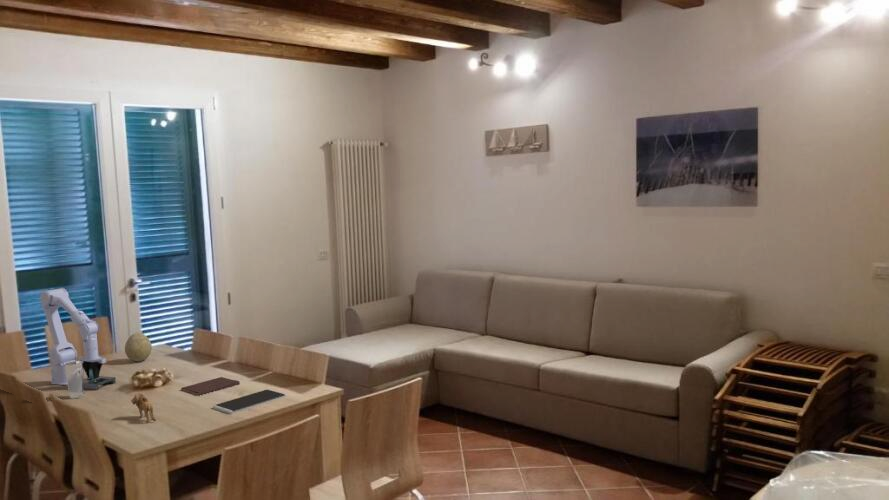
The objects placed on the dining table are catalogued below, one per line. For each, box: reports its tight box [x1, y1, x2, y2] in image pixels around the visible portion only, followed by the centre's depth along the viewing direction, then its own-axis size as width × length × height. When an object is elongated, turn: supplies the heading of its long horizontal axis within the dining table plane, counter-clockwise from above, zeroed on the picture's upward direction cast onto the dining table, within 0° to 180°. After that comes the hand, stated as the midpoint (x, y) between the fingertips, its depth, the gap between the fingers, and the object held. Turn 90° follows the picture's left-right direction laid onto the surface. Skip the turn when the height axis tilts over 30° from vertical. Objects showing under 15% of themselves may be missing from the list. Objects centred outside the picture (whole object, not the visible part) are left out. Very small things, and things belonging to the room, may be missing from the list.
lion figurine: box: [130, 393, 157, 424], centre depth 259 cm, size 15×5×9 cm, turn 51°
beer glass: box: [65, 360, 85, 400], centre depth 291 cm, size 7×7×15 cm
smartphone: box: [212, 389, 287, 415], centre depth 275 cm, size 13×27×2 cm, turn 141°
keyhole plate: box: [83, 375, 117, 391], centre depth 307 cm, size 13×11×3 cm
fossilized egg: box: [124, 332, 153, 363], centre depth 350 cm, size 13×13×15 cm
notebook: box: [180, 376, 241, 396], centre depth 298 cm, size 15×20×2 cm
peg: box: [89, 369, 96, 382], centre depth 307 cm, size 4×4×7 cm
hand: (93, 377), depth 307 cm, fingers closed on peg, 3 cm apart
